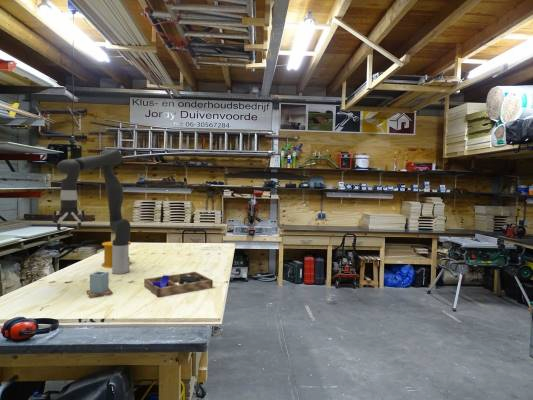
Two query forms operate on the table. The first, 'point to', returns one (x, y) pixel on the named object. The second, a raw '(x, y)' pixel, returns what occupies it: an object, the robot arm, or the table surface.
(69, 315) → the table surface
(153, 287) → the frame
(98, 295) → the pin stand
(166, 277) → the cable clip
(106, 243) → the spool
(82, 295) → the table surface
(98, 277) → the collar
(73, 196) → the robot arm
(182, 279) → the bicycle component
